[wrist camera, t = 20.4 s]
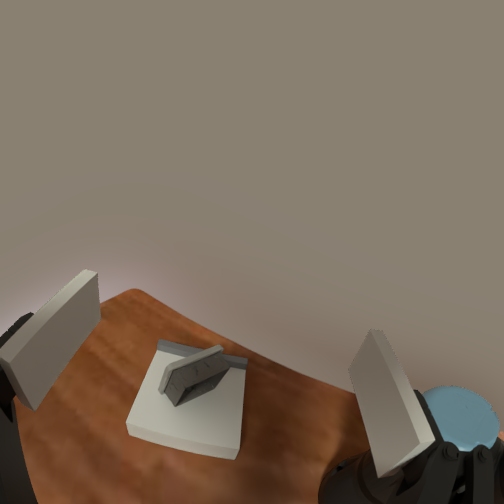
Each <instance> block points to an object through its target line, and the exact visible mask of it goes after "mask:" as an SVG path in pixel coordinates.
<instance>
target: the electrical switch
mask: <svg viewBox="0 0 504 504" xmlns="http://www.w3.org/2000/svg"><path fill="white" fill-rule="evenodd" d="M223 350H224V348H223V347H222V346H221V345H216V346H214V347H211V348H209V349H206V350H204V351H201V352H199V353H196V354H194V355H191V356H188V357H186V358H183V359H181V360H178V361H175V362H172V363H170V364H169V365H167V366H166V368H165V370H164V373H163V376H162V379H161V382H160V385H159V388H158V391H159V393H160V394H161V395H163V394H166V395H167V397H168V399H169V400H170V401H171V402H172V404H173V405H174V407H177V406H179V405H181V404H184V403H186V402H188V401H190V400H192V399H195V398H197V397H199V396H201V395H203V394H205V393H207V392H209V391H211V390H213V389H215V388H216V386H217V385H218V384H219V382H220V381H221V380H222V378H223V377H224V376H225V374H226V373H227V372H228V370H229V369H230V366H229V365H228V364H227V362H226V361H225V359H224V357H223V356H222V354H221V353H222V352H223ZM205 384H206V385H205ZM192 385H194V386H192ZM212 386H213V387H214V388H213V387H212ZM188 387H191V389H192V391H191V392H188V391H187V390H186V388H188ZM194 387H195V388H194ZM195 389H196V390H197V391H196V390H195ZM184 391H185V392H186V393H187V394H186V393H185V392H184ZM185 399H186V400H185Z"/></svg>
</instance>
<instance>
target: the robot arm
mask: <svg viewBox="0 0 504 504" xmlns="http://www.w3.org/2000/svg"><path fill="white" fill-rule="evenodd" d="M100 320H101V313H100V302H99V290H98V273H97V272H93V271H90V270H86V269H84V270H83V271H82V272H81V273H79V274H78V275H77V276H76V277H75V278H74V279H73V280H71V281H70V282H69V283H68V284H67V285H66V286H65V287H63V288H62V289H61V290H60V291H59V292H58V293H57V294H55V295H54V296H53V297H52V298H51V299H50V300H49V301H48V302H47V303H46V304H45V305H44V306H42V307H41V308H40V309H39V310H38V311H37V312H36V313H35V314H33V313H31V312H30V313H28V314H26V315H24V316H22V317H20V318H19V319H18V320H17V321H16V322H15V323H14V325H12V326H11V327H10V328H9V329H8V331H6V332H5V333H4V334H3V335H2V336H1V337H0V504H38V502H37V500H36V497H35V494H34V491H33V488H32V485H31V481H30V478H29V475H28V471H27V467H26V463H25V459H24V455H23V451H22V446H21V441H20V436H19V430H18V424H17V418H16V410H15V404H14V400H13V398H14V397H15V395H17V397H18V399H19V400H20V402H21V404H23V405H24V406H26V407H28V408H29V409H31V410H32V411H34V412H35V411H36V409H37V408H38V406H39V405H40V403H41V402H42V400H43V399H44V397H45V396H46V394H47V393H48V391H49V390H50V388H51V387H52V385H53V384H54V382H55V381H56V379H57V378H58V377H59V375H60V374H61V372H62V371H63V369H64V368H65V367H66V365H67V364H68V362H69V361H70V360H71V358H72V357H73V356H74V354H75V353H76V351H77V350H78V349H79V347H80V346H81V345H82V343H83V342H84V341H85V339H86V338H87V337H88V336H89V334H90V333H91V332H92V330H93V329H94V328H95V326H96V325H97V324H98V323H99V321H100ZM348 371H349V374H350V378H351V381H352V384H353V387H354V391H355V394H356V397H357V401H358V404H359V408H360V411H361V414H362V418H363V422H364V425H365V429H366V432H367V436H368V440H369V444H370V447H371V448H370V449H369V450H368V451H366V452H364V453H361V454H358V455H355V456H352V457H350V458H347V459H345V460H344V461H342V462H341V463H339V464H338V465H337V466H335V467H334V468H333V469H332V470H331V471H330V472H329V473H328V474H327V475H326V477H325V478H324V480H323V481H322V483H321V486H320V489H319V495H318V500H319V504H504V441H502V440H501V439H500V438H498V437H497V436H498V433H499V420H498V417H497V415H496V413H495V412H493V411H491V409H492V406H491V405H490V404H489V403H488V402H487V401H486V400H485V399H484V398H482V397H481V396H480V395H478V394H476V393H475V392H473V391H470V390H468V389H465V388H462V387H457V386H440V387H435V388H432V389H430V390H428V391H426V392H424V393H423V394H422V395H421V393H420V392H419V391H418V390H413V389H412V387H411V385H410V383H409V381H408V378H407V377H406V374H405V372H404V371H403V369H402V366H401V365H400V363H399V361H398V359H397V357H396V355H395V353H394V351H393V349H392V347H391V345H390V343H389V342H388V340H387V338H386V336H385V334H384V332H383V331H380V330H372V329H370V330H369V332H368V334H367V336H366V338H365V340H364V342H363V343H362V345H361V347H360V349H359V351H358V353H357V355H356V356H355V358H354V360H353V362H352V364H351V365H350V367H349V369H348Z"/></svg>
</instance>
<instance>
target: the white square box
mask: <svg viewBox="0 0 504 504" xmlns="http://www.w3.org/2000/svg"><path fill="white" fill-rule="evenodd" d="M201 351H204V350H203V349H199V348H194V347H190V346H186V345H182V344H178V343H174V342H170V341H166V340H162V339H159V341H158V344H157V352H156V354H155V356H154V358H153V360H152V363H151V365H150V367H149V369H148V372H147V374H146V376H145V378H144V381H143V383H142V385H141V388H140V390H139V392H138V395H137V397H136V399H135V402H134V404H133V406H132V409H131V411H130V413H129V416H128V418H127V421H126V425H127V429H128V433H129V435H131V436H134V437H137V438H140V439H144V440H147V441H150V442H153V443H157V444H161V445H164V446H168V447H172V448H176V449H180V450H184V451H188V452H193V453H198V454H203V455H208V456H213V457H219V458H226V459H232V460H235V458H236V456H237V454H238V452H239V449H240V436H241V424H242V411H243V398H244V385H245V373H246V367H247V363H248V358H242V357H237V356H232V355H227V354H222V353H221V354H222V356H223V357H224V359H225V361H226V362H227V364H228V365H229V366H230V369H229V370H228V372H227V373H226V374H225V376H224V377H223V378H222V380H221V381H220V382H219V384H218V385H217V386H216V388H215V389H213V390H211V391H209V392H207V393H205V394H203V395H201V396H199V397H197V398H195V399H192V400H190V401H188V402H186V403H184V404H181V405H179V406H177V407H174V405H173V404H172V402H171V401H170V400H169V399H168V397H167V395H166V394H163V395H161V394H160V393H159V391H158V388H159V385H160V382H161V379H162V376H163V373H164V370H165V368H166V366H167V365H169V364H170V363H172V362H175V361H178V360H181V359H183V358H186V357H188V356H191V355H194V354H196V353H199V352H201ZM205 385H206V384H205ZM192 386H194V385H192ZM212 387H213V386H212ZM194 388H195V387H194ZM213 388H214V387H213ZM186 390H187V391H188V392H191V391H192V389H191V387H188V388H186ZM195 390H196V389H195ZM196 391H197V390H196ZM184 392H185V391H184ZM185 393H186V392H185ZM186 394H187V393H186ZM185 400H186V399H185Z"/></svg>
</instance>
